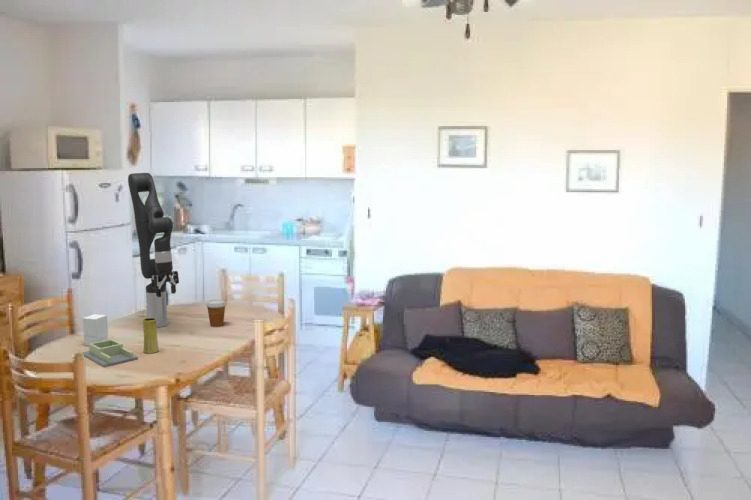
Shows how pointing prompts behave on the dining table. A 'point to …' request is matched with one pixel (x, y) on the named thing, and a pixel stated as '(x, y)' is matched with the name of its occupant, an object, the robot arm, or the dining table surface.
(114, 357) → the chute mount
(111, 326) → the dining table surface
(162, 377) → the dining table surface
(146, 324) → the vase
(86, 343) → the supplement box
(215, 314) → the disposable coffee cup
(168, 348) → the dining table surface
